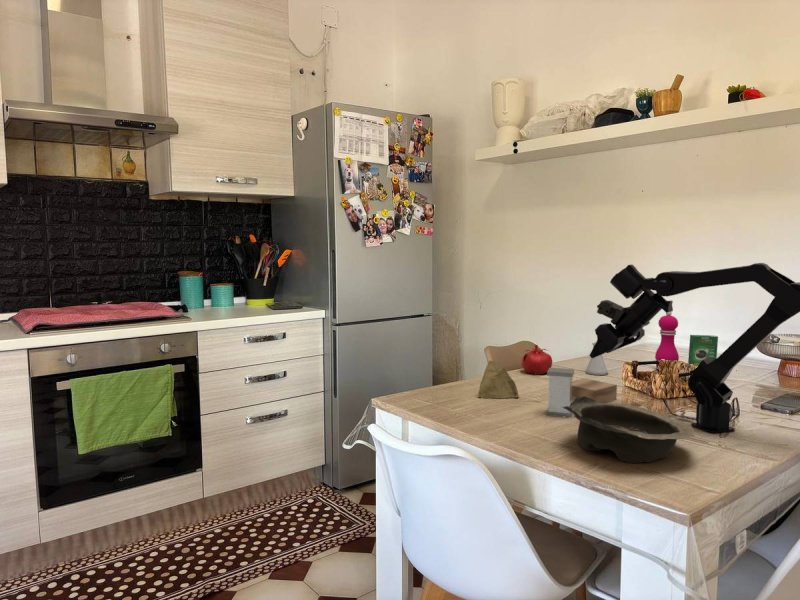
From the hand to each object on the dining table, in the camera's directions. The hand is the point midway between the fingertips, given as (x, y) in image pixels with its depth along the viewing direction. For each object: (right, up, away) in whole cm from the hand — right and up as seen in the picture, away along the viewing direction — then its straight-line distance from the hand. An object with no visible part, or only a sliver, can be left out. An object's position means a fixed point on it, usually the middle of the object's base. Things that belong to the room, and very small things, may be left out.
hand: (598, 354), depth 153 cm
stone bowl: (-4, -17, -31) cm, 35 cm away
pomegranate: (-6, -10, +43) cm, 44 cm away
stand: (+1, -13, +9) cm, 16 cm away
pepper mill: (+38, -10, +46) cm, 60 cm away
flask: (+13, -10, +41) cm, 45 cm away
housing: (-11, -14, -5) cm, 19 cm away
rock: (-24, -13, +11) cm, 29 cm away
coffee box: (+46, -10, +38) cm, 60 cm away
